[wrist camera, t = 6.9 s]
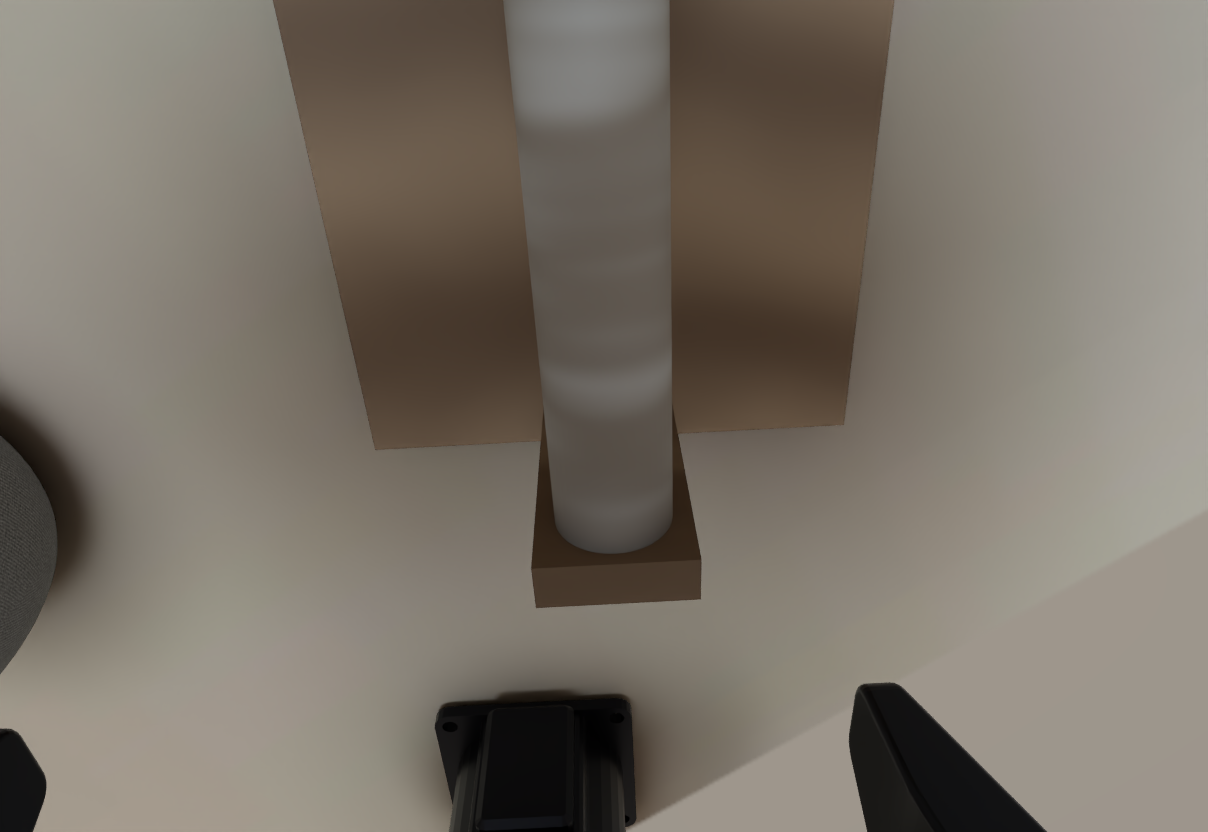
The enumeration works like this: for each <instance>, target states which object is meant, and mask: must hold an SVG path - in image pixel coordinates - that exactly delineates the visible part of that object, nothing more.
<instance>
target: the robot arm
mask: <svg viewBox="0 0 1208 832" xmlns="http://www.w3.org/2000/svg"><path fill="white" fill-rule="evenodd" d="M615 713H617V714H615ZM435 730H436V734H437V739H438V743H439V747H440V752H441V756H442V760H443V765H444V769H445V773H446V778H447V782H448V786H449V791H450V795H451V799H452V804H453V808H452V815H451V822H450V829H449V832H626V830H625V827H628V826H630V825H633V824H634V823H635V821H636V801H635V779H634V757H633V735H632V715H631V706H630V704H629V703H628V702H627V701H626V700H623V699H619V698H610V699H591V700H572V701H552V702H533V703H514V704H495V705H476V706H456V707H446V708H443V709H441V710H439V712H438V713H437V717H436V722H435ZM849 747H850V754H851V760H852V764H853V769H854V773H855V778H856V782H857V787H858V792H859V796H860V801H861V805H862V810H863V814H864V819H865V823H866V827H867V832H1047V831H1046V830H1045V829H1043V827H1042V826H1041V825H1040V824H1039V823H1038V822H1037V821H1036V820H1035V819H1034V818H1033V817H1032V816H1031V815H1030V814H1029V813H1028V812H1027V811H1026V810H1025V809H1024V808H1023V807H1022V806H1021V805H1020V804H1019V803H1018V802H1017V801H1016V800H1015V799H1014V798H1013V797H1012V796H1011V795H1010V794H1009V793H1007V791H1006V790H1004V788H1003V787H1002V786H1001V785H1000V784H999V783H998V782H997V781H996V780H995V779H994V778H993V777H992V776H991V775H990V774H989V773H988V772H987V771H986V770H985V769H984V768H983V767H982V766H981V765H980V764H979V763H978V762H977V761H975V759H974V758H973V757H972V756H971V755H970V754H969V753H968V752H967V751H966V750H965V749H964V748H962V746H961V745H960V744H959V743H958V742H956V740H955V739H954V738H953V737H951V735H950V734H948V732H947V731H946V730H945V729H944V728H943V727H942V726H941V725H940V724H939V723H938V722H936V720H935V719H934V718H932V716H931V715H930V714H929V713H927V711H926V710H925V709H923V707H922V706H921V705H919V703H917V701H916V700H915V699H914V698H913V697H912V696H911V695H909V693H907V691H906V690H905V689H903V688H902V687H901V686H900V685H898V684H895V683H890V682H889V683H870V684H862V685H860V686H859V687H858V689H857V691H856V694H855V700H854V707H853V713H852V720H851V726H850V733H849ZM45 794H46V778H45V775H44V772H43V771H42V769H41V767H40V766H39V764H38V763H37V761H36V759H35V758H34V756H33V755H32V753H31V751H30V750H29V748H28V747H27V745H26V743H25V742H24V740H23V739H22V737H21V736H20V735H19V733H18V732H16V731H14V730H12V729H0V832H33V830H34V827H35V824H36V822H37V819H38V816H39V813H40V810H41V808H42V805H43V802H44V799H45Z"/></svg>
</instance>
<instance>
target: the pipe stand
mask: <svg viewBox="0 0 1208 832" xmlns="http://www.w3.org/2000/svg"><path fill="white" fill-rule="evenodd" d="M273 3H274V7H275V11H276V16H277V20H278V25H279V29H280V33H281V38H282V42H283V47H284V51H285V55H286V60H287V64H288V69H289V73H290V77H291V82H292V86H293V90H294V95H295V99H296V104H297V108H298V112H299V117H300V121H301V126H302V130H303V134H304V139H305V143H306V148H307V152H308V156H309V161H310V165H311V170H312V174H313V178H314V183H315V187H316V192H317V196H318V200H319V205H320V209H321V214H322V218H323V222H324V227H325V231H326V235H327V240H328V244H329V249H330V253H331V257H332V262H333V266H334V271H335V275H336V279H337V284H338V288H339V293H340V297H341V301H342V306H343V310H344V315H345V319H346V323H347V328H348V332H349V337H350V341H351V345H352V350H353V354H354V359H355V363H356V367H357V372H358V376H359V380H360V385H361V389H362V394H363V398H364V402H365V407H366V411H367V416H368V420H369V424H370V429H371V433H372V438H373V442H374V446H375V450H380V449H399V448H418V447H436V446H455V445H474V444H493V443H511V442H530V441H541V447H540V460H539V473H538V486H537V500H536V513H535V526H534V540H533V553H532V566H531V570H532V579H533V587H534V595H535V603H536V608H545V607H564V606H583V605H602V604H621V603H640V602H659V601H678V600H697V599H701V555H700V550H699V544H698V539H697V534H696V528H695V523H694V518H693V512H692V507H691V501H690V496H689V491H688V485H687V480H686V475H685V469H684V464H683V459H682V453H681V448H680V443H679V437H678V434H680V433H699V432H717V431H736V430H755V429H774V428H792V427H811V426H830V425H844V419H845V410H846V402H847V394H848V385H849V377H850V368H851V360H852V352H853V343H854V335H855V326H856V318H857V310H858V301H859V293H860V284H861V276H862V268H863V259H864V251H865V242H866V234H867V225H868V217H869V209H870V200H871V192H872V183H873V175H874V167H875V158H876V150H877V141H878V133H879V125H880V116H881V108H882V99H883V91H884V83H885V74H886V66H887V57H888V49H889V41H890V32H891V24H892V15H893V7H894V0H273Z"/></svg>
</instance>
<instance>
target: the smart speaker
mask: <svg viewBox="0 0 1208 832" xmlns="http://www.w3.org/2000/svg"><path fill="white" fill-rule="evenodd" d="M56 559H57V529H56V522H55V517H54V513H53V510H52V507H51V504H50V501H49V499H48V496H47V494H46V492H45V490H44V488H43V486H42V484H41V483H40V481H39V479H38V478H37V476H36V475H35V473H34V472H33V470H32V469H31V467H30V466H29V465H28V464H27V462H26V461H25V460H24V459H23V457H22V456H21V455H20V454H19V453H18V452H17V451H16V450H15V449H14V448H13V447H12V445H10V444H9V443H8V442H7V441H6V440H5V439H4V438H3V437H2V436H1V435H0V674H1V673H2V671H3V670H4V669H5V667H6V666H7V665H8V663H9V662H10V661H11V659H12V658H13V657H14V655H15V654H16V653H17V651H18V650H19V648H20V647H21V645H22V644H23V642H24V640H25V639H26V637H27V635H28V634H29V632H30V630H31V629H32V627H33V625H34V623H35V621H36V619H37V617H38V615H39V613H40V611H41V609H42V607H43V605H44V602H45V600H46V597H47V595H48V592H49V589H50V586H51V583H52V579H53V575H54V571H55V566H56Z"/></svg>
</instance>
